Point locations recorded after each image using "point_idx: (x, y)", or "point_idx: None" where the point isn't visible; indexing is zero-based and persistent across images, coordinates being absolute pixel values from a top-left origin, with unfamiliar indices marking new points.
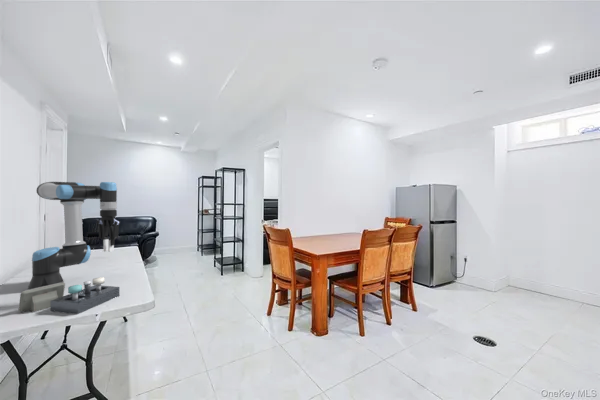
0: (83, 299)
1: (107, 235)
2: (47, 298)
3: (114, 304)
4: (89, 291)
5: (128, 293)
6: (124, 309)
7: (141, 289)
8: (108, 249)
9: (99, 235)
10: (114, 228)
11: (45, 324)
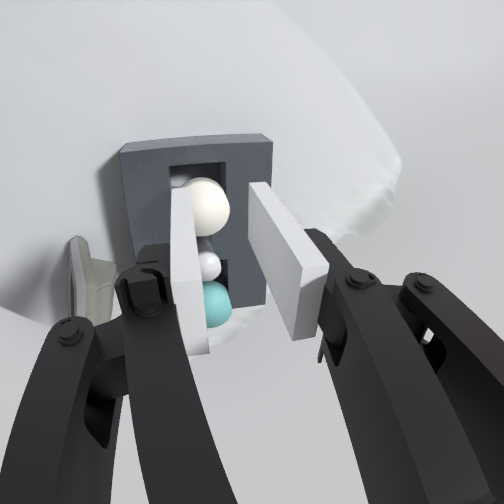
0: (250, 281)
1: (188, 363)
2: (106, 305)
3: (310, 204)
4: (212, 242)
5: (277, 101)
6: (366, 225)
7: (297, 50)
8: (255, 251)
9: (87, 428)
10: (501, 465)
11: (233, 334)
